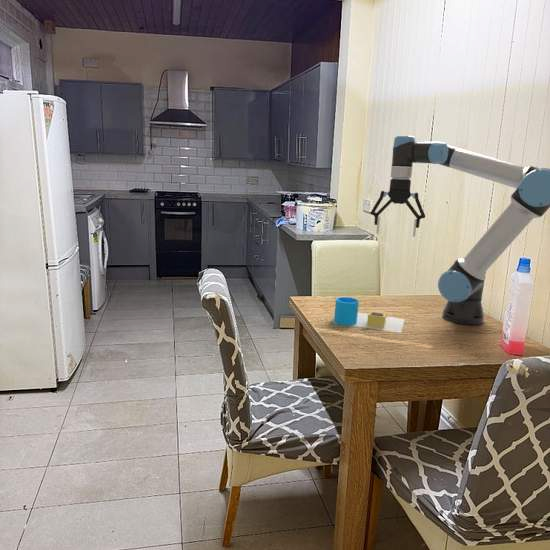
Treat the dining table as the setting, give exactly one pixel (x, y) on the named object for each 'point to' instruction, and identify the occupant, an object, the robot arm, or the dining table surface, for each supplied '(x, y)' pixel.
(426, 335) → the dining table surface
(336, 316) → the mug
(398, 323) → the drywall panel
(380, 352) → the dining table surface
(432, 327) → the dining table surface
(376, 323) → the block
